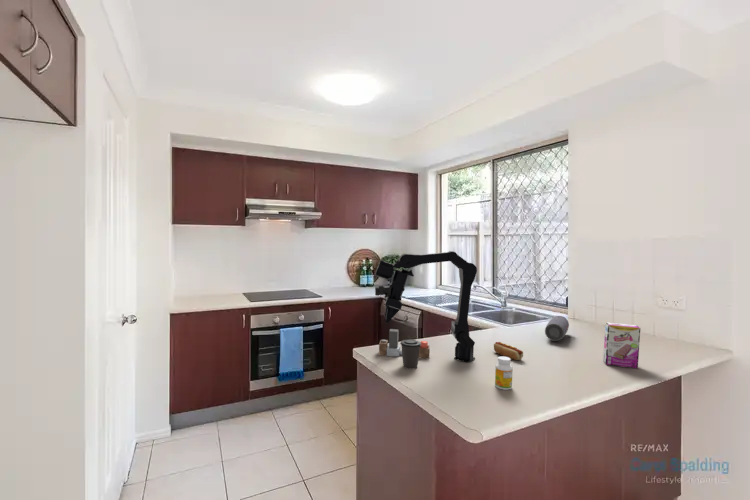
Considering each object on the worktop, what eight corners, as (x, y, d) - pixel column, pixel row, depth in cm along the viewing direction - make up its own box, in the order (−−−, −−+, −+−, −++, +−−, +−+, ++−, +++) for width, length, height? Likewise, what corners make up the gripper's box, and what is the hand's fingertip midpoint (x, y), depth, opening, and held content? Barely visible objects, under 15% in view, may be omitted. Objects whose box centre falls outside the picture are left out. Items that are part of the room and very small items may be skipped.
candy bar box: (605, 365, 146) (607, 324, 146) (602, 361, 151) (604, 321, 150) (638, 369, 143) (641, 327, 142) (634, 365, 147) (636, 324, 147)
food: (490, 352, 160) (491, 341, 160) (500, 351, 163) (500, 339, 162) (516, 362, 148) (516, 350, 147) (525, 360, 150) (526, 348, 150)
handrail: (418, 355, 154) (418, 351, 154) (418, 356, 152) (418, 352, 152) (387, 353, 156) (387, 349, 156) (386, 354, 154) (386, 350, 154)
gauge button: (427, 350, 154) (427, 341, 154) (427, 352, 151) (427, 343, 151) (420, 350, 154) (420, 340, 154) (420, 352, 151) (420, 342, 151)
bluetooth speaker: (564, 345, 173) (565, 324, 173) (543, 341, 178) (544, 321, 178) (569, 334, 192) (570, 315, 192) (550, 332, 197) (550, 313, 197)
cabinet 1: (387, 351, 158) (387, 339, 157) (386, 355, 153) (386, 342, 152) (380, 351, 158) (380, 338, 158) (378, 355, 153) (379, 341, 153)
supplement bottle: (492, 383, 126) (493, 355, 125) (507, 383, 126) (508, 355, 126) (498, 390, 120) (499, 361, 120) (514, 390, 121) (515, 360, 120)
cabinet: (429, 354, 155) (429, 345, 155) (429, 358, 150) (429, 349, 150) (418, 354, 156) (418, 344, 155) (418, 357, 151) (418, 348, 150)
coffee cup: (419, 371, 136) (420, 344, 135) (398, 369, 137) (398, 342, 137) (421, 363, 144) (422, 338, 143) (401, 362, 145) (401, 337, 145)
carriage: (399, 352, 157) (400, 328, 157) (398, 356, 151) (399, 332, 151) (388, 351, 158) (388, 328, 158) (386, 355, 152) (387, 331, 152)
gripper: (379, 274, 158) (368, 308, 159) (380, 279, 140) (367, 318, 140) (403, 282, 158) (392, 316, 159) (407, 289, 140) (394, 327, 140)
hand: (386, 319), depth 150 cm, fingers open, 9 cm apart
